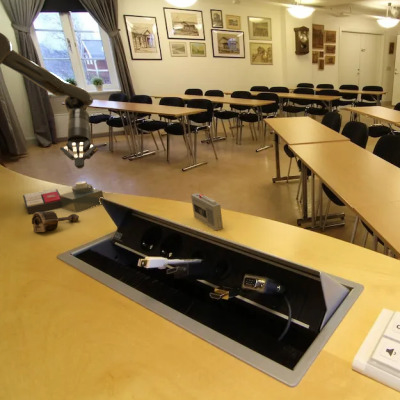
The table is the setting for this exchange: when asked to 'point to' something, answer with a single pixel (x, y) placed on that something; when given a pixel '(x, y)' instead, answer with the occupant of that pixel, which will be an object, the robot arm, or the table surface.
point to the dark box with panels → (42, 201)
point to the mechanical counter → (49, 220)
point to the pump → (81, 184)
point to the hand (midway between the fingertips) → (79, 167)
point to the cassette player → (207, 211)
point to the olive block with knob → (81, 198)
